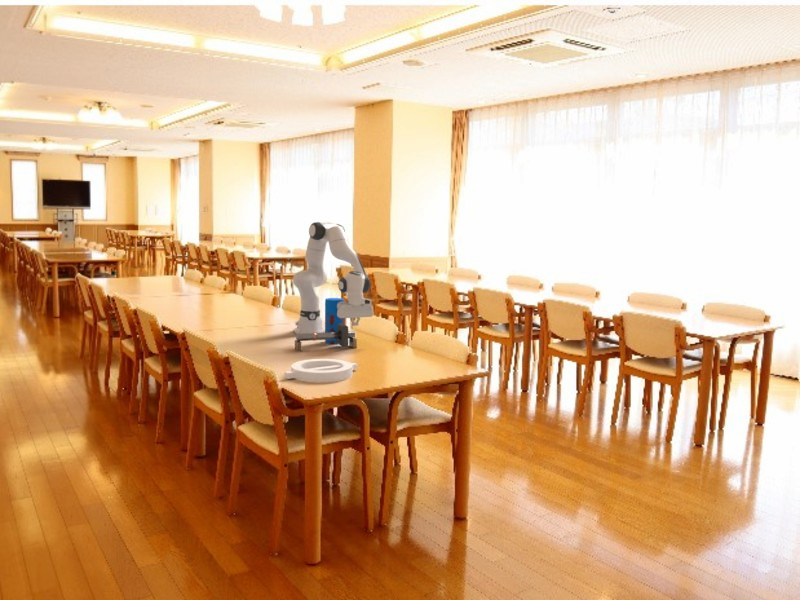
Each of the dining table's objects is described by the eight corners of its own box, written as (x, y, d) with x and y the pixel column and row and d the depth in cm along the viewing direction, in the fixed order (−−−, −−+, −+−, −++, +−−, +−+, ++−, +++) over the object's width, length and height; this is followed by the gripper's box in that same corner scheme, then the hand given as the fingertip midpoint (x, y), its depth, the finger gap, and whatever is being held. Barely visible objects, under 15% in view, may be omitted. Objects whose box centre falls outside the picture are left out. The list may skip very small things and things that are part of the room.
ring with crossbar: (282, 381, 295) (282, 370, 295) (302, 367, 323) (302, 357, 322) (343, 385, 290) (343, 374, 290) (359, 370, 318) (359, 360, 317)
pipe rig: (294, 349, 362) (294, 332, 361) (352, 345, 375) (352, 329, 373) (297, 351, 356) (297, 334, 355) (356, 348, 368) (356, 331, 367)
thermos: (340, 344, 377) (340, 300, 374) (322, 343, 379) (322, 299, 376) (346, 341, 388) (346, 298, 385) (328, 340, 390) (328, 297, 387)
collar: (337, 343, 373) (337, 323, 372) (342, 342, 374) (342, 323, 373) (342, 346, 363) (342, 327, 362) (348, 346, 364) (348, 326, 363)
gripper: (338, 302, 361) (338, 327, 363) (374, 300, 369) (374, 325, 371) (335, 300, 367) (335, 325, 369) (370, 299, 375) (370, 323, 376)
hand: (355, 325), depth 370 cm, fingers closed
